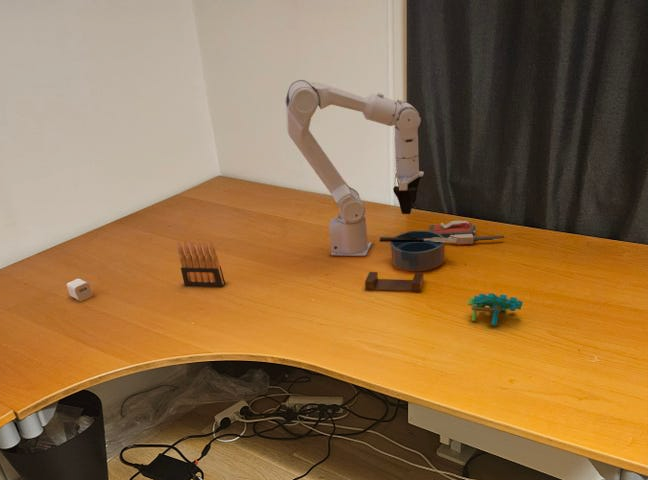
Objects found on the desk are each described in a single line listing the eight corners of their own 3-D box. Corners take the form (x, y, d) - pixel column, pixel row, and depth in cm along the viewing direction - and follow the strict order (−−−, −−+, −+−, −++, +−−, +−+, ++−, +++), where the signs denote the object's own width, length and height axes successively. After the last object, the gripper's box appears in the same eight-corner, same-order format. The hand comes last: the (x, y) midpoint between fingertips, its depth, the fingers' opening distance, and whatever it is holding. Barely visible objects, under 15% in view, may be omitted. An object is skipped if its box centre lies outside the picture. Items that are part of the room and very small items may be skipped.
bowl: (387, 272, 152) (386, 252, 149) (396, 249, 162) (395, 230, 159) (441, 274, 148) (441, 253, 145) (447, 250, 159) (447, 230, 155)
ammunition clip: (225, 283, 156) (215, 239, 149) (222, 287, 154) (212, 242, 148) (187, 282, 159) (176, 239, 152) (184, 285, 157) (172, 242, 150)
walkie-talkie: (425, 247, 161) (504, 243, 159) (425, 232, 159) (505, 227, 156) (425, 234, 168) (500, 230, 166) (424, 219, 166) (500, 214, 163)
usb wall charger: (79, 302, 156) (73, 288, 153) (66, 295, 160) (60, 281, 157) (93, 295, 158) (88, 281, 156) (80, 288, 162) (75, 275, 160)
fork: (379, 242, 154) (378, 240, 153) (381, 238, 156) (380, 236, 155) (456, 243, 149) (456, 241, 148) (457, 239, 150) (457, 237, 150)
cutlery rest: (365, 290, 145) (364, 281, 144) (370, 280, 149) (369, 271, 148) (420, 292, 142) (420, 283, 140) (423, 282, 146) (423, 273, 144)
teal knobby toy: (528, 305, 129) (516, 290, 120) (524, 333, 128) (511, 320, 120) (477, 303, 135) (462, 289, 126) (473, 329, 134) (457, 317, 125)
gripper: (418, 164, 146) (420, 218, 154) (427, 146, 157) (428, 197, 165) (389, 164, 148) (392, 218, 155) (399, 147, 159) (402, 197, 167)
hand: (408, 207), depth 160 cm, fingers open, 7 cm apart
